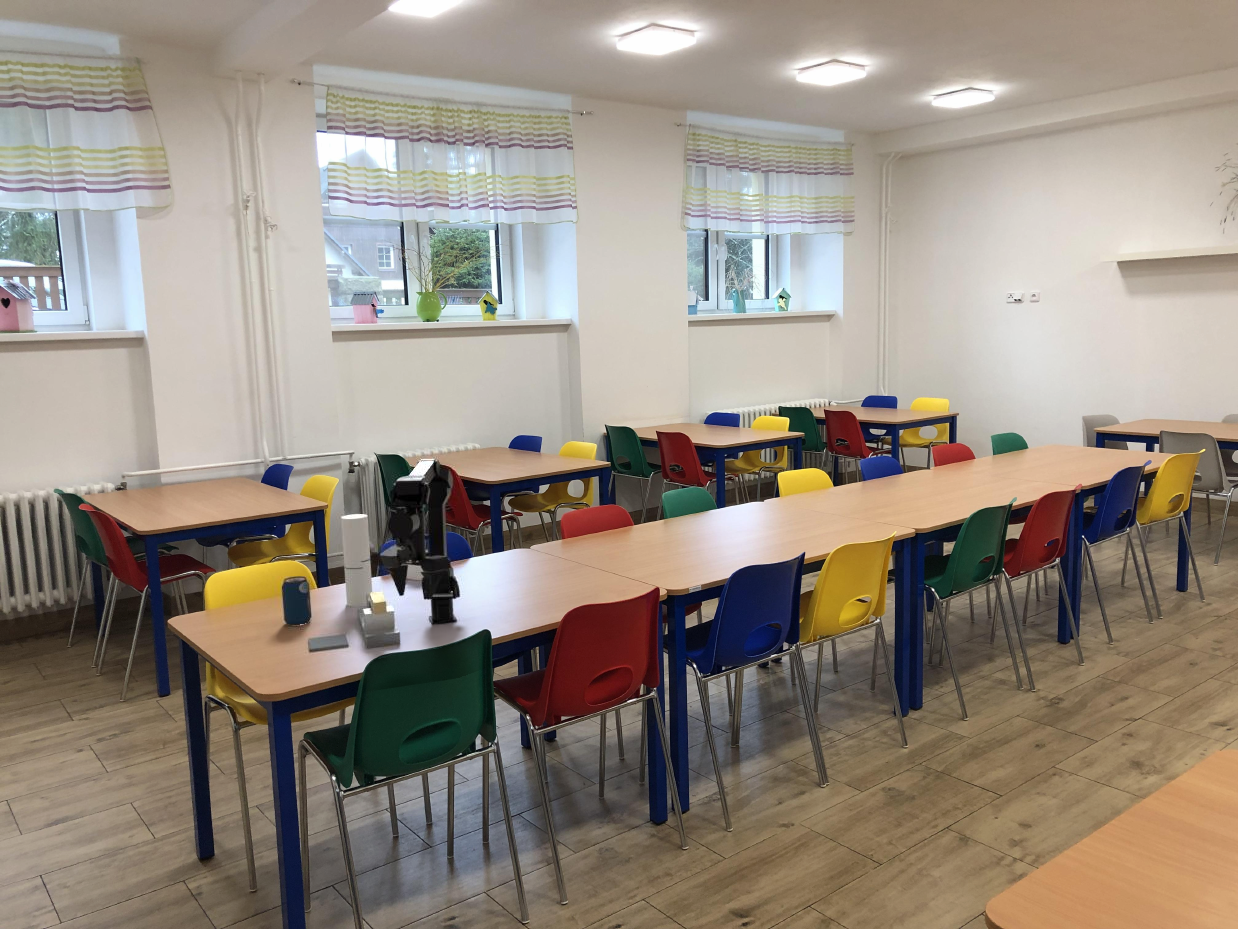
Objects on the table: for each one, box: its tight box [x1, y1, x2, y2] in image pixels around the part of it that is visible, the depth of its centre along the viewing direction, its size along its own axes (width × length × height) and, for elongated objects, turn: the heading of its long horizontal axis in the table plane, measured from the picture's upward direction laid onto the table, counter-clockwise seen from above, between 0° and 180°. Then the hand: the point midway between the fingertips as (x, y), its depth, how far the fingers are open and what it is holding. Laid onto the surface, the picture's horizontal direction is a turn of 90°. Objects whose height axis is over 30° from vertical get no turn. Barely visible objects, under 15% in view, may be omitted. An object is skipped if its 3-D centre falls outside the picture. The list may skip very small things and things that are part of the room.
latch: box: [370, 591, 387, 615], centre depth 238 cm, size 10×3×3 cm, turn 20°
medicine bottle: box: [406, 539, 429, 581], centre depth 299 cm, size 7×7×12 cm
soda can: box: [281, 575, 313, 626], centre depth 253 cm, size 7×7×12 cm
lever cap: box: [363, 605, 396, 630], centre depth 239 cm, size 5×7×4 cm
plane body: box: [356, 594, 401, 649], centre depth 244 cm, size 26×8×7 cm, turn 20°
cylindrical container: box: [340, 513, 373, 608], centre depth 270 cm, size 7×7×25 cm
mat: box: [307, 633, 350, 652], centre depth 235 cm, size 9×9×1 cm
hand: (415, 597), depth 225 cm, fingers open, 9 cm apart
